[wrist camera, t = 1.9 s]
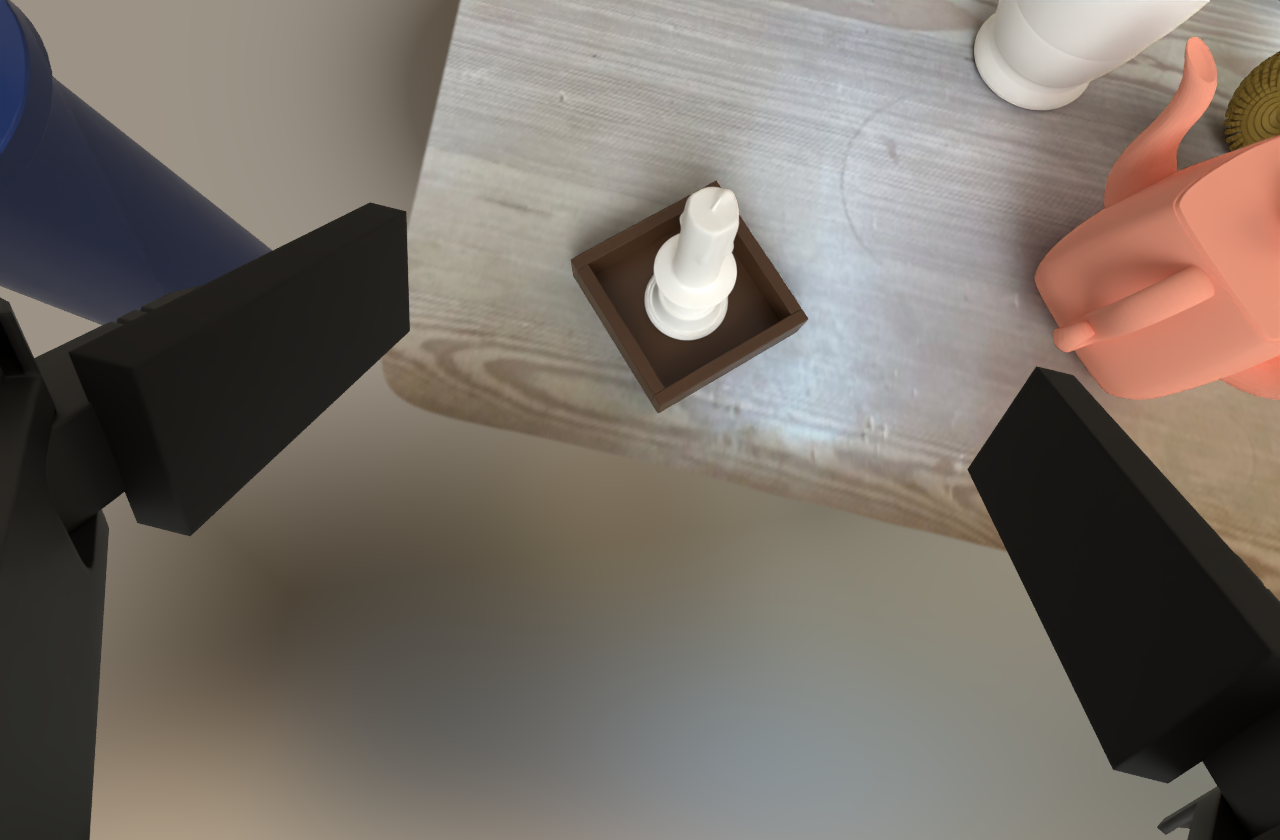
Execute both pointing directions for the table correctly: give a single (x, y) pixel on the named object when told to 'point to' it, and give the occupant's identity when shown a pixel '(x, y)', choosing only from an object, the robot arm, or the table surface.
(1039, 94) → the jar
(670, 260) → the candle
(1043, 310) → the table surface
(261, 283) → the robot arm
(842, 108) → the table surface
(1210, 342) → the teapot
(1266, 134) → the sculpture
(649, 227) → the tray
